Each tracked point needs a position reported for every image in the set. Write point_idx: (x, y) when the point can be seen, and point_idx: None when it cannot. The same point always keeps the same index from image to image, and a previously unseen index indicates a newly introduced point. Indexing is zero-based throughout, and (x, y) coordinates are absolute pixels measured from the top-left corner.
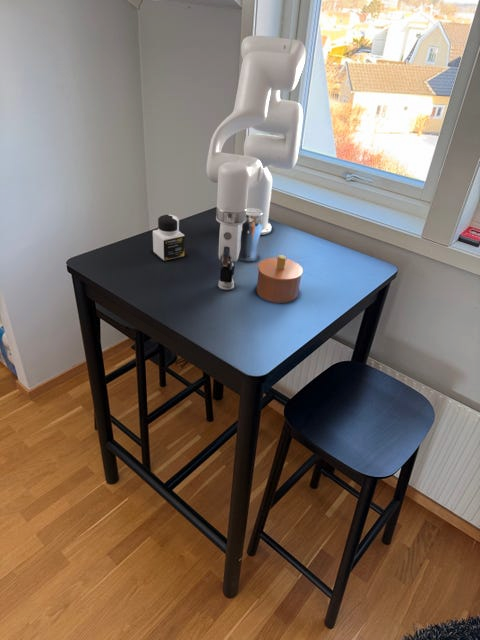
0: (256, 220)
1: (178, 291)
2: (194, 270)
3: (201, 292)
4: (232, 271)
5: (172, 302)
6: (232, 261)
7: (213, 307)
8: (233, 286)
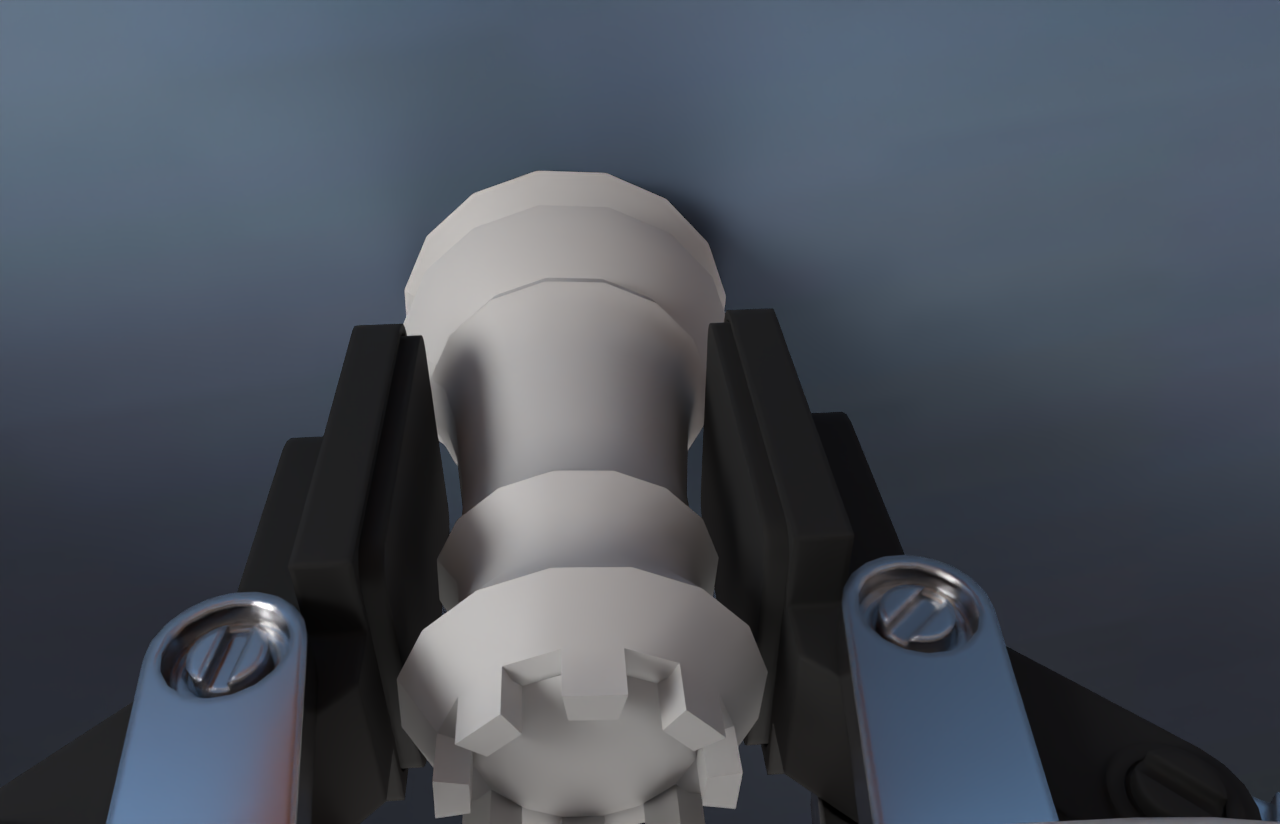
0: None
1: None
2: None
3: None
4: (783, 478)
5: None
6: (573, 699)
7: (1264, 368)
8: (586, 183)
